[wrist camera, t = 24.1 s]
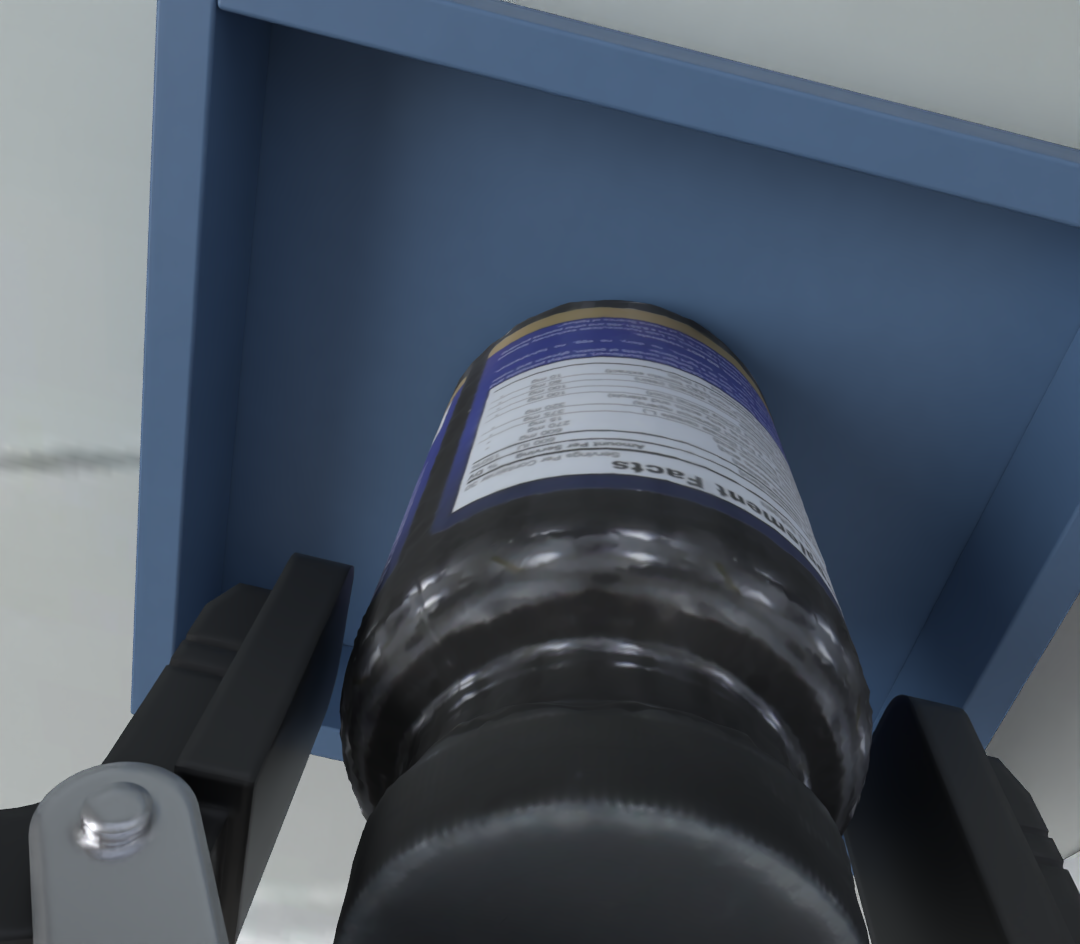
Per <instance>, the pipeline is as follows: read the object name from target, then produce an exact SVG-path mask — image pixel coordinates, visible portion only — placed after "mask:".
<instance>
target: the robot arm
mask: <svg viewBox="0 0 1080 944" xmlns="http://www.w3.org/2000/svg"><path fill="white" fill-rule="evenodd" d="M353 579H354V566H352V565H348V564H343V563H339V562H335V561H330V560H326V559H322V558H317V557H313V556H309V555H305V554H300V553H296V552H295V553H293V554H292V556H291V557H290V559H289V560H288V562H287V564H286V566H285V568H284V569H283V571H282V573H281V575H280V577H279V578H278V580H277V582H276V584H275V586H274V587H273V589H272V590H269V589H265V588H261V587H256V586H252V585H247V584H243V583H238V584H237V585H235V586H234V587H232V588H231V589H229V590H227V591H226V592H224V593H223V594H221V595H220V596H218V597H216V598H215V599H213V600H212V601H210V602H209V603H207V604H206V605H205V606H204V608H203V609H202V611H201V612H200V614H199V616H198V617H197V619H196V620H195V622H194V623H193V625H192V626H191V628H190V629H189V631H188V633H187V635H186V638H185V640H182V642H181V643H180V645H179V646H178V648H177V649H176V651H175V653H174V654H173V656H172V657H171V660H170V663H169V665H166V666H165V668H164V670H163V671H162V673H161V674H160V676H159V677H158V679H157V680H156V682H155V683H154V685H153V687H152V688H151V690H150V691H149V693H148V694H147V696H146V697H145V699H144V700H143V702H142V703H141V705H140V707H139V708H138V710H137V711H136V713H135V714H134V716H133V717H132V719H131V720H130V722H129V724H128V725H127V727H126V728H125V730H124V731H123V733H122V734H121V736H120V737H119V739H118V740H117V742H116V744H115V745H114V747H113V748H112V750H111V751H110V753H109V754H108V756H107V757H106V759H105V760H104V761H103V763H102V764H101V765H98V766H94V767H92V768H89V769H86V770H83V771H81V772H79V773H77V774H75V775H73V776H71V777H69V778H67V779H66V780H64V781H63V782H61V783H60V784H58V785H57V786H56V787H55V788H53V789H52V790H51V791H50V792H49V793H48V794H47V795H46V796H45V797H44V799H43V800H42V801H41V802H39V803H36V804H33V805H28V806H23V807H19V808H12V809H2V810H0V944H236V941H237V939H238V936H239V934H240V931H241V929H242V926H243V923H244V921H245V918H246V916H247V913H248V911H249V908H250V906H251V903H252V901H253V898H254V895H255V893H256V890H257V888H258V885H259V883H260V880H261V878H262V875H263V872H264V870H265V867H266V865H267V862H268V860H269V857H270V855H271V852H272V850H273V847H274V844H275V842H276V839H277V837H278V834H279V832H280V829H281V827H282V824H283V821H284V819H285V816H286V814H287V811H288V809H289V806H290V804H291V801H292V799H293V796H294V793H295V791H296V788H297V786H298V783H299V781H300V778H301V776H302V773H303V770H304V768H305V765H306V763H307V760H308V758H309V755H310V753H311V750H312V748H313V745H314V742H315V740H316V737H317V735H318V732H319V730H320V727H321V725H322V722H323V719H324V717H325V714H326V712H327V709H328V706H329V703H330V699H331V696H332V693H333V689H334V685H335V681H336V677H337V673H338V668H339V663H340V657H341V651H342V645H343V639H344V633H345V627H346V621H347V615H348V609H349V603H350V597H351V591H352V585H353ZM1048 832H1049V831H1048V829H1047V827H1046V825H1045V823H1044V821H1043V819H1042V817H1041V815H1040V813H1039V811H1038V809H1037V807H1036V805H1035V803H1034V801H1033V799H1032V797H1031V795H1030V793H1029V792H1028V791H1027V790H1026V789H1025V788H1024V787H1023V786H1022V784H1021V783H1020V782H1019V781H1018V780H1017V779H1016V778H1015V777H1014V776H1013V774H1012V773H1011V772H1010V771H1009V770H1008V769H1007V768H1006V767H1005V766H1004V764H1003V763H1002V762H1001V761H1000V760H999V759H998V758H994V757H990V756H987V755H986V753H985V750H984V748H983V746H982V744H981V742H980V740H979V738H978V736H977V733H976V731H975V729H974V727H973V725H972V723H971V721H970V718H969V717H968V715H967V713H966V712H965V711H964V710H963V709H961V708H959V707H955V706H951V705H946V704H942V703H938V702H933V701H929V700H925V699H920V698H916V697H912V696H907V695H903V694H901V695H897V696H895V697H894V698H893V699H892V700H891V701H890V703H889V704H888V706H887V707H886V709H885V711H884V713H883V715H882V717H881V719H880V721H879V723H878V724H877V726H876V728H875V730H874V732H873V734H872V742H871V748H870V761H869V768H868V771H867V774H866V779H865V784H864V786H863V789H862V792H861V795H860V801H859V803H858V804H857V807H856V809H855V812H854V815H853V818H852V820H851V821H850V823H849V824H848V826H847V828H846V830H845V831H844V833H843V835H844V839H845V842H846V846H847V850H848V854H849V858H850V861H851V865H852V869H853V873H854V877H855V881H856V885H857V888H858V892H859V896H860V900H861V904H862V908H863V912H864V915H865V919H866V923H867V927H868V931H869V935H870V938H871V942H872V944H1080V893H1079V891H1078V889H1077V887H1076V885H1075V883H1074V881H1073V879H1072V877H1071V875H1070V873H1069V871H1068V870H1067V869H1063V863H1064V861H1063V859H1062V857H1061V855H1060V853H1059V851H1058V849H1057V847H1056V845H1055V843H1054V841H1053V839H1052V838H1048Z"/></svg>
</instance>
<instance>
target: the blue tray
mask: <svg viewBox="0 0 1080 944" xmlns="http://www.w3.org/2000/svg"><path fill="white" fill-rule="evenodd" d="M599 300H624V301H633V302H641V303H647V304H652V305H655V306H658V307H661V308H664V309H666V310H669V311H671V312H674V313H676V314H678V315H680V316H683V317H685V318H688V319H691V320H693V321H695V322H697V323H698V324H699V325H701V326H702V327H704V328H705V329H707V330H708V331H710V332H711V333H712V334H713V335H714V336H716V337H717V338H718V339H719V340H721V341H722V342H723V343H724V344H726V346H727V347H728V348H729V349H730V350H731V351H732V352H733V353H734V354H735V355H736V356H737V357H738V358H739V359H740V361H741V362H742V363H743V364H744V365H745V366H746V367H747V369H748V370H749V371H750V373H751V374H752V376H753V377H754V379H755V381H756V382H757V384H758V386H759V388H760V390H761V392H762V394H763V397H764V399H765V401H766V404H767V406H768V409H769V411H770V413H771V416H772V418H773V422H774V426H775V428H776V431H777V434H778V437H779V439H780V442H781V445H782V447H783V450H784V453H785V455H786V458H787V461H788V464H789V467H790V469H791V472H792V475H793V478H794V481H795V484H796V486H797V489H798V492H799V494H800V497H801V499H802V502H803V505H804V508H805V511H806V514H807V516H808V519H809V522H810V525H811V528H812V531H813V534H814V537H815V540H816V543H817V545H818V548H819V550H820V553H821V555H822V557H823V560H824V562H825V565H826V569H827V573H828V576H829V578H830V581H831V584H832V586H833V589H834V592H835V595H836V598H837V600H838V603H839V605H840V608H841V611H842V614H843V617H844V620H845V623H846V626H847V628H848V631H849V634H850V637H851V639H852V642H853V644H854V646H855V649H856V652H857V654H858V657H859V662H860V664H861V667H862V670H863V675H864V677H865V680H866V683H867V685H868V687H869V690H870V698H869V703H870V706H871V708H872V710H873V714H872V722H873V727H872V734H873V732H874V730H875V728H876V726H877V724H878V723H879V721H880V719H881V717H882V715H883V713H884V711H885V709H886V707H887V706H888V704H889V703H890V701H891V700H892V699H893V698H894V697H895V696H897V695H901V694H903V695H907V696H912V697H916V698H920V699H925V700H929V701H933V702H938V703H942V704H946V705H951V706H955V707H959V708H961V709H963V710H964V711H965V712H966V713H967V715H968V717H969V718H970V721H971V723H972V725H973V727H974V729H975V731H976V733H977V736H978V738H979V740H980V742H981V744H982V746H983V748H984V750H985V749H986V747H987V746H988V744H989V742H990V741H991V739H992V737H993V736H994V734H995V732H996V731H997V729H998V727H999V726H1000V724H1001V722H1002V721H1003V719H1004V717H1005V716H1006V714H1007V712H1008V711H1009V709H1010V707H1011V706H1012V704H1013V702H1014V701H1015V699H1016V697H1017V696H1018V694H1019V693H1020V691H1021V689H1022V688H1023V686H1024V684H1025V683H1026V681H1027V679H1028V678H1029V676H1030V674H1031V673H1032V671H1033V669H1034V668H1035V666H1036V664H1037V663H1038V661H1039V659H1040V658H1041V656H1042V654H1043V653H1044V651H1045V649H1046V648H1047V646H1048V644H1049V643H1050V641H1051V639H1052V638H1053V636H1054V634H1055V633H1056V631H1057V629H1058V628H1059V626H1060V625H1061V623H1062V621H1063V620H1064V618H1065V616H1066V615H1067V613H1068V611H1069V610H1070V608H1071V606H1072V605H1073V603H1074V601H1075V600H1076V598H1077V596H1078V595H1079V593H1080V150H1078V149H1074V148H1070V147H1066V146H1062V145H1059V144H1055V143H1051V142H1047V141H1043V140H1039V139H1035V138H1031V137H1028V136H1024V135H1020V134H1016V133H1012V132H1008V131H1004V130H1000V129H997V128H993V127H989V126H985V125H981V124H977V123H973V122H969V121H965V120H962V119H958V118H954V117H950V116H946V115H942V114H938V113H934V112H931V111H927V110H923V109H919V108H915V107H911V106H907V105H903V104H900V103H896V102H892V101H888V100H884V99H880V98H876V97H872V96H869V95H865V94H861V93H857V92H853V91H849V90H845V89H841V88H838V87H834V86H830V85H826V84H822V83H818V82H814V81H810V80H807V79H803V78H799V77H795V76H791V75H787V74H783V73H779V72H776V71H772V70H768V69H764V68H760V67H756V66H752V65H748V64H745V63H741V62H737V61H733V60H729V59H725V58H721V57H717V56H714V55H710V54H706V53H702V52H698V51H694V50H690V49H686V48H683V47H679V46H675V45H671V44H667V43H663V42H659V41H655V40H652V39H648V38H644V37H640V36H636V35H632V34H628V33H624V32H621V31H617V30H613V29H609V28H605V27H601V26H597V25H593V24H589V23H586V22H582V21H578V20H574V19H570V18H566V17H562V16H558V15H555V14H551V13H547V12H543V11H539V10H535V9H531V8H527V7H524V6H520V5H516V4H512V3H508V2H504V1H500V0H157V16H156V43H155V70H154V97H153V124H152V151H151V178H150V205H149V232H148V259H147V286H146V313H145V340H144V367H143V394H142V421H141V448H140V475H139V502H138V529H137V556H136V583H135V610H134V637H133V664H132V691H131V713H132V714H133V715H134V714H135V713H136V711H137V710H138V708H139V707H140V705H141V703H142V702H143V700H144V699H145V697H146V696H147V694H148V693H149V691H150V690H151V688H152V687H153V685H154V683H155V682H156V680H157V679H158V677H159V676H160V674H161V673H162V671H163V670H164V668H165V666H166V665H169V663H170V660H171V657H172V656H173V654H174V653H175V651H176V649H177V648H178V646H179V645H180V643H181V642H182V640H185V638H186V635H187V633H188V631H189V629H190V628H191V626H192V625H193V623H194V622H195V620H196V619H197V617H198V616H199V614H200V612H201V611H202V609H203V608H204V606H205V605H206V604H207V603H209V602H210V601H212V600H213V599H215V598H216V597H218V596H220V595H221V594H223V593H224V592H226V591H227V590H229V589H231V588H232V587H234V586H235V585H237V584H238V583H243V584H247V585H252V586H256V587H261V588H265V589H269V590H272V589H273V587H274V586H275V584H276V582H277V580H278V578H279V577H280V575H281V573H282V571H283V569H284V568H285V566H286V564H287V562H288V560H289V559H290V557H291V556H292V554H293V553H295V552H296V553H300V554H305V555H309V556H313V557H317V558H322V559H326V560H330V561H335V562H339V563H343V564H348V565H352V566H354V579H353V585H352V591H351V597H350V603H349V609H348V615H347V621H346V627H345V633H344V639H343V645H342V651H341V657H340V663H339V668H338V673H337V677H336V681H335V685H334V689H333V693H332V696H331V699H330V703H329V706H328V709H327V712H326V714H325V717H324V719H323V722H322V725H321V727H320V730H319V732H318V735H317V737H316V740H315V742H314V745H313V748H312V750H311V753H310V754H312V755H316V756H321V757H325V758H330V759H334V760H339V761H343V756H342V742H341V738H340V729H341V719H340V712H339V711H340V700H341V692H342V687H343V682H344V676H345V672H346V668H347V664H348V661H349V658H350V655H351V652H352V650H353V647H354V640H355V638H356V636H357V631H358V629H359V628H360V626H361V622H362V617H363V616H364V615H365V614H366V611H367V608H368V606H369V605H370V602H371V599H372V597H373V594H374V592H375V589H376V587H377V585H378V582H379V580H380V577H381V575H382V572H383V570H384V567H385V565H386V562H387V559H388V557H389V554H390V552H391V549H392V546H393V544H394V541H395V539H396V536H397V533H398V531H399V528H400V525H401V523H402V520H403V518H404V515H405V512H406V510H407V507H408V504H409V502H410V499H411V497H412V494H413V491H414V489H415V486H416V483H417V481H418V478H419V476H420V473H421V471H422V468H423V466H424V463H425V461H426V458H427V456H428V453H429V451H430V448H431V445H432V443H433V440H434V437H435V435H436V433H437V430H438V428H439V426H440V423H441V421H442V418H443V416H444V413H445V410H446V408H447V405H448V403H449V401H450V400H451V397H452V395H453V392H454V390H455V388H456V386H457V384H458V382H459V380H460V378H461V377H462V375H463V374H464V373H465V371H466V370H467V369H468V367H469V366H470V365H471V363H472V362H473V361H474V360H475V359H476V358H478V357H479V356H480V355H481V354H482V353H483V352H484V351H485V350H486V349H487V348H488V347H489V346H490V345H491V344H492V343H493V342H495V341H497V340H498V339H500V338H502V337H503V336H504V335H505V334H506V333H508V332H509V331H510V330H511V329H512V328H513V327H514V326H516V325H517V324H519V323H521V322H523V321H525V320H526V319H528V318H530V317H533V316H536V315H538V314H540V313H543V312H545V311H547V310H550V309H552V308H555V307H557V306H559V305H563V304H566V303H569V302H581V301H599ZM842 838H843V840H844V842H845V839H844V835H842ZM845 846H846V842H845ZM846 850H847V846H846ZM847 854H848V850H847ZM848 856H849V854H848ZM851 871H852V874H853V875H854V873H853V869H852V865H851Z"/></svg>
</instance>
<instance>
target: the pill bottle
mask: <svg viewBox="0 0 1080 944" xmlns="http://www.w3.org/2000/svg"><path fill="white" fill-rule="evenodd" d="M869 698H870V690H869V687H868V685H867V683H866V680H865V677H864V675H863V670H862V667H861V664H860V662H859V657H858V654H857V652H856V649H855V646H854V644H853V642H852V639H851V637H850V634H849V631H848V628H847V626H846V623H845V620H844V617H843V614H842V611H841V608H840V605H839V603H838V600H837V598H836V595H835V592H834V589H833V586H832V584H831V581H830V578H829V576H828V573H827V569H826V565H825V562H824V560H823V557H822V555H821V553H820V550H819V548H818V545H817V543H816V540H815V537H814V534H813V531H812V528H811V525H810V522H809V519H808V516H807V514H806V511H805V508H804V505H803V502H802V499H801V497H800V494H799V492H798V489H797V486H796V484H795V481H794V478H793V475H792V472H791V469H790V467H789V464H788V461H787V458H786V455H785V453H784V450H783V447H782V445H781V442H780V439H779V437H778V434H777V431H776V428H775V426H774V422H773V418H772V416H771V413H770V411H769V409H768V406H767V404H766V401H765V399H764V397H763V394H762V392H761V390H760V388H759V386H758V384H757V382H756V381H755V379H754V377H753V376H752V374H751V373H750V371H749V370H748V369H747V367H746V366H745V365H744V364H743V363H742V362H741V361H740V359H739V358H738V357H737V356H736V355H735V354H734V353H733V352H732V351H731V350H730V349H729V348H728V347H727V346H726V344H724V343H723V342H722V341H721V340H719V339H718V338H717V337H716V336H714V335H713V334H712V333H711V332H710V331H708V330H707V329H705V328H704V327H702V326H701V325H699V324H698V323H697V322H695V321H693V320H691V319H688V318H685V317H683V316H680V315H678V314H676V313H674V312H671V311H669V310H666V309H664V308H661V307H658V306H655V305H652V304H647V303H641V302H633V301H624V300H599V301H581V302H569V303H566V304H563V305H559V306H557V307H555V308H552V309H550V310H547V311H545V312H543V313H540V314H538V315H536V316H533V317H530V318H528V319H526V320H525V321H523V322H521V323H519V324H517V325H516V326H514V327H513V328H512V329H511V330H510V331H509V332H508V333H506V334H505V335H504V336H503V337H502V338H500V339H498V340H497V341H495V342H493V343H492V344H491V345H490V346H489V347H488V348H487V349H486V350H485V351H484V352H483V353H482V354H481V355H480V356H479V357H478V358H476V359H475V360H474V361H473V362H472V363H471V365H470V366H469V367H468V369H467V370H466V371H465V373H464V374H463V375H462V377H461V378H460V380H459V382H458V384H457V386H456V388H455V390H454V392H453V395H452V397H451V400H450V401H449V403H448V405H447V408H446V410H445V413H444V416H443V418H442V421H441V423H440V426H439V428H438V430H437V433H436V435H435V437H434V440H433V443H432V445H431V448H430V451H429V453H428V456H427V458H426V461H425V463H424V466H423V468H422V471H421V473H420V476H419V478H418V481H417V483H416V486H415V489H414V491H413V494H412V497H411V499H410V502H409V504H408V507H407V510H406V512H405V515H404V518H403V520H402V523H401V525H400V528H399V531H398V533H397V536H396V539H395V541H394V544H393V546H392V549H391V552H390V554H389V557H388V559H387V562H386V565H385V567H384V570H383V572H382V575H381V577H380V580H379V582H378V585H377V587H376V589H375V592H374V594H373V597H372V599H371V602H370V605H369V606H368V608H367V611H366V614H365V615H364V616H363V617H362V622H361V626H360V628H359V629H358V631H357V636H356V638H355V640H354V647H353V650H352V652H351V655H350V658H349V661H348V664H347V668H346V672H345V676H344V682H343V687H342V692H341V700H340V711H339V712H340V719H341V729H340V738H341V742H342V756H343V762H344V764H345V767H346V771H347V774H348V779H349V780H350V782H351V784H352V790H353V792H354V794H355V796H356V798H357V800H358V803H359V806H360V809H361V812H362V815H363V816H364V817H365V819H366V820H367V822H366V825H365V828H364V830H363V833H362V836H361V839H360V842H359V845H358V848H357V851H356V854H355V857H354V861H353V864H352V869H351V874H350V879H349V883H348V888H347V892H346V895H345V899H344V903H343V906H342V910H341V913H340V917H339V920H338V924H337V928H336V934H335V938H334V943H333V944H869V939H868V933H867V929H866V925H865V922H864V919H863V916H862V913H861V910H860V907H859V904H858V901H857V897H856V893H855V885H854V879H853V874H852V871H851V861H850V858H849V856H848V854H847V850H846V846H845V842H844V840H843V838H842V835H843V833H844V831H845V830H846V828H847V826H848V824H849V823H850V821H851V820H852V818H853V815H854V812H855V809H856V807H857V804H858V803H859V801H860V795H861V792H862V789H863V786H864V784H865V779H866V774H867V771H868V768H869V761H870V748H871V742H872V727H873V722H872V714H873V710H872V708H871V706H870V703H869Z"/></svg>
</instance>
